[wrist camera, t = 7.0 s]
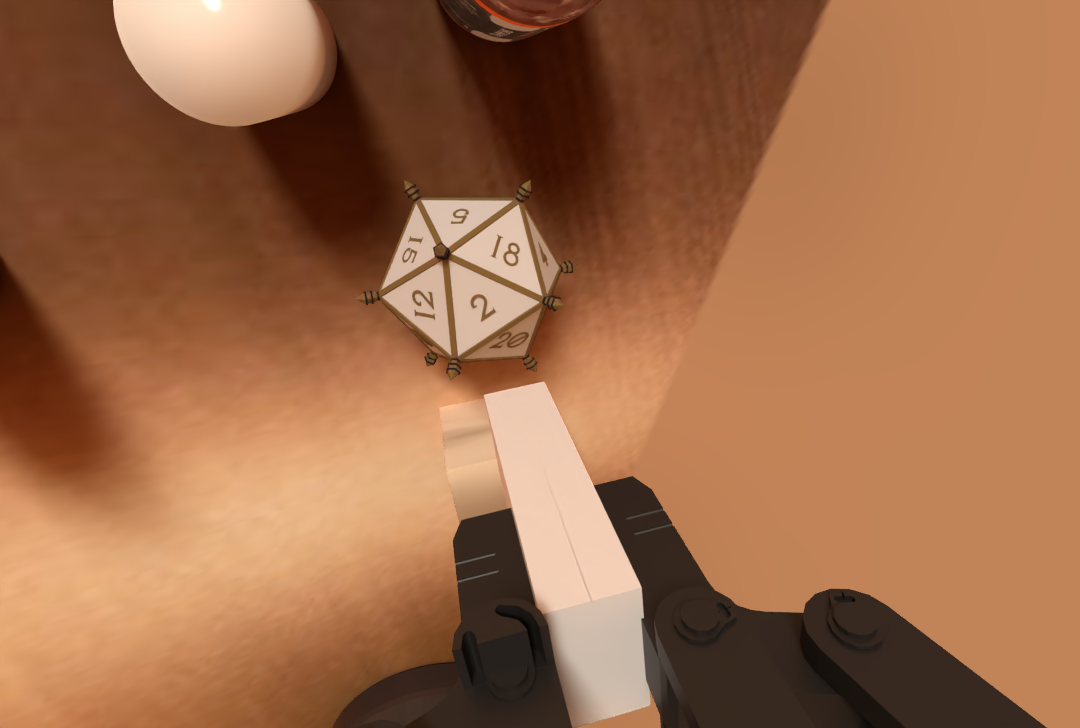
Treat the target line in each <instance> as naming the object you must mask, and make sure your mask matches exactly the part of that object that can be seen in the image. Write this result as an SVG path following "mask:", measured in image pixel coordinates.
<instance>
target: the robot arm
mask: <svg viewBox="0 0 1080 728" xmlns="http://www.w3.org/2000/svg"><path fill="white" fill-rule="evenodd" d="M484 399H485V404H486V409H487V414H488V419H489V424H490V429H491V434H492V439H493V444H494V448H495V453H496V458H497V463H498V468H499V473H500V478H501V483H502V487H503V491H504V495H505V499H506V503H507V508H508V509H504V510H500V511H496V512H492V513H488V514H484V515H480V516H475V517H471V518H467V519H463V520H461V522H460V525H459V527H458V530H457V532H456V534H455V537H454V539H453V547H454V556H455V564H456V575H457V582H458V594H459V603H460V612H461V623H460V625H459V627H458V629H457V630H456V632H455V634H454V641H453V648H452V652H453V655H454V659H455V662H456V663H445V664H435V665H429V666H424V667H419V668H415V669H411V670H408V671H405V672H402V673H399V674H396V675H394V676H391V677H389V678H387V679H385V680H383V681H381V682H379V683H377V684H375V685H373V686H372V687H370V688H368V689H367V690H365V691H364V692H363V693H361V694H360V695H359V696H357V697H356V698H355V699H354V700H353V701H352V702H351V703H350V704H349V705H348V706H347V707H346V708H345V709H344V710H343V711H342V713H341V714H340V715H339V717H338V718H337V720H336V722H335V723H334V726H333V728H576V727H579V726H583V725H586V724H589V723H593V722H596V721H600V720H603V719H607V718H610V717H613V716H617V715H620V714H623V713H627V712H630V711H633V710H637V709H640V708H643V707H646V706H650V693H649V689H650V691H651V694H652V696H653V698H654V701H655V703H656V706H657V708H658V711H659V713H660V720H661V728H1046V727H1045V726H1044V725H1042V724H1041V723H1040V722H1039V721H1037V720H1036V719H1035V718H1033V717H1032V716H1031V715H1029V714H1028V713H1027V712H1026V711H1024V710H1023V709H1022V708H1020V707H1019V706H1018V705H1016V704H1015V703H1014V702H1012V701H1011V700H1010V699H1009V698H1007V697H1006V696H1004V695H1003V694H1002V693H1001V692H999V691H998V690H997V689H995V688H994V687H993V686H992V685H990V684H989V683H988V682H986V681H985V680H984V679H982V678H981V677H980V676H978V675H977V674H976V673H974V672H973V671H972V670H971V669H969V668H968V667H967V666H965V665H964V664H963V663H961V662H960V661H959V660H958V659H956V658H955V657H954V656H952V655H951V654H950V653H948V652H947V651H946V650H944V649H943V648H942V647H941V646H939V645H938V644H937V643H935V642H934V641H933V640H931V639H930V638H929V637H927V636H926V635H925V634H924V633H922V632H921V631H920V630H918V629H917V628H916V627H914V626H913V625H912V624H910V623H909V622H908V621H907V620H905V619H904V618H903V617H901V616H900V615H899V614H897V613H896V612H895V611H893V610H892V609H891V608H890V607H888V606H887V605H885V604H884V603H882V602H880V601H878V600H877V599H875V598H873V597H871V596H870V595H867V594H863V593H860V592H857V591H854V590H850V589H829V590H826V591H823V592H820V593H817V594H815V595H814V596H813V597H812V598H811V599H810V600H809V601H808V602H807V603H806V604H805V609H804V613H790V612H763V611H755V610H750V609H746V608H743V607H740V606H737V605H736V604H734V602H733V601H732V600H731V599H730V598H728V597H726V596H724V595H722V594H721V593H719V592H717V591H715V590H714V589H713V587H712V586H711V585H710V584H709V582H708V581H707V579H706V578H705V576H704V574H703V573H702V571H701V569H700V568H699V566H698V565H697V563H696V561H695V560H694V558H693V557H692V555H691V553H690V551H689V550H688V548H687V547H686V546H685V543H684V542H683V540H682V538H681V537H680V535H679V534H678V532H677V530H676V529H675V527H674V526H673V525H672V522H671V520H670V519H669V517H668V515H667V514H666V512H665V511H663V507H662V506H661V504H660V502H659V501H658V499H657V498H656V496H655V494H654V493H653V491H652V490H651V489H650V488H648V487H647V486H646V485H644V484H643V483H641V482H640V481H639V480H637V479H636V478H634V477H633V476H631V477H627V478H623V479H619V480H615V481H611V482H607V483H603V484H599V485H595V486H593V483H592V481H591V479H590V477H589V475H588V473H587V471H586V469H585V466H584V464H583V462H582V460H581V458H580V456H579V454H578V452H577V450H576V447H575V445H574V443H573V441H572V439H571V437H570V435H569V433H568V431H567V428H566V426H565V424H564V422H563V420H562V418H561V416H560V414H559V411H558V409H557V407H556V405H555V403H554V401H553V399H552V397H551V395H550V392H549V390H548V388H547V386H546V384H545V382H539V383H535V384H530V385H526V386H521V387H517V388H512V389H508V390H503V391H498V392H494V393H489V394H485V395H484Z"/></svg>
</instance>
